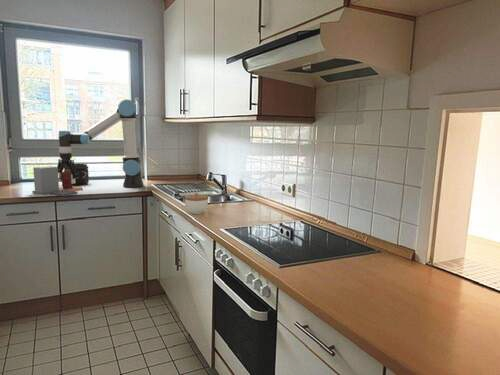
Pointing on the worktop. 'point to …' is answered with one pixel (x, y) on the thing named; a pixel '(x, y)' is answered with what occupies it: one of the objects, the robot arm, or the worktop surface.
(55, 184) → the grey unit
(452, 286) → the worktop surface
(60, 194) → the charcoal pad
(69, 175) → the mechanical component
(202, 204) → the lidded bowl
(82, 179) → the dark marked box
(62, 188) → the terracotta pad
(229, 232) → the worktop surface
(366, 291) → the worktop surface
